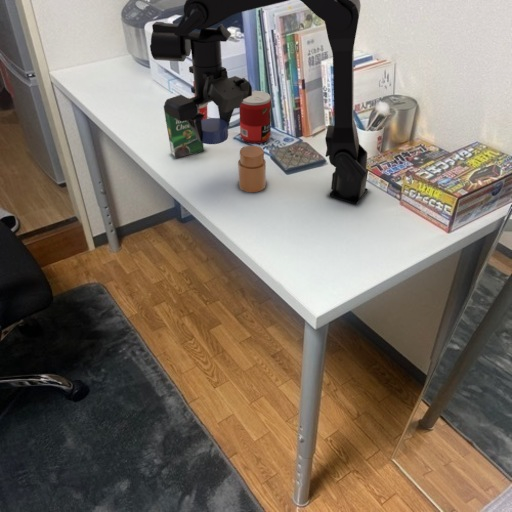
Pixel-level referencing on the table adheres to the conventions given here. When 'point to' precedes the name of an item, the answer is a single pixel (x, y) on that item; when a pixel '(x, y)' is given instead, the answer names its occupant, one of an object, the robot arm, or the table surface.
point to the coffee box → (181, 137)
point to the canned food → (255, 117)
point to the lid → (214, 131)
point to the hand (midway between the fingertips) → (212, 135)
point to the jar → (252, 169)
